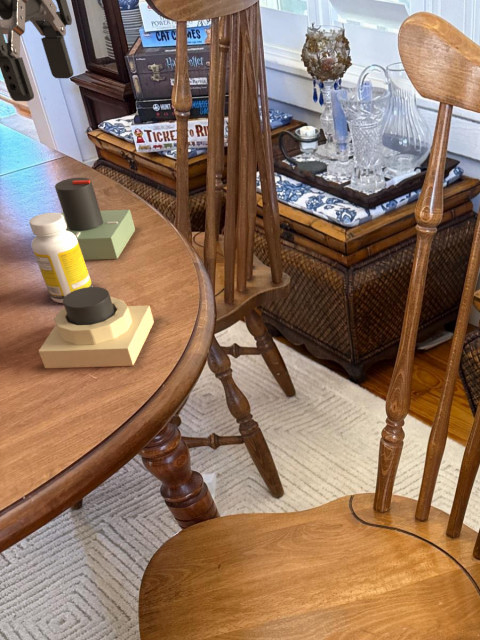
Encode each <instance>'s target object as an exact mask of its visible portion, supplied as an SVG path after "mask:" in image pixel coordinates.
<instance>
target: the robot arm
mask: <svg viewBox="0 0 480 640" xmlns="http://www.w3.org/2000/svg"><path fill="white" fill-rule="evenodd" d="M55 2H56V4H57V5H56V4H55V3H54V1H53V0H0V18H1V19H0V72H1V74H2V78H3V80H4V84H5V86H6V89H7V92H8V94H9V96H10V98H11V99H12V101H15V102H30V101H31V100H34V98H35V94H34V91H33V88H32V83H31V81H30V78H29V75H28V71H27V69H26V65H25V62H24V59H23V57H22V56H21V36H22V35H23V34H24V33H25V31H26V23H28V22H31V23H32V25H33V27H35V29H36V30H37V31H38V34H40V35H41V36H42V37H41V38H40V40H41V44H42V45H43V50H44V53H45V56H46V60H47V63H48V67H49V70H50V73H51V75H52V77H53V78H54V79H70V78H72V77H73V76H74V70H73V66H72V62H71V59H70V56H69V55H70V54H69V51H68V48H67V44H66V41H65V36H66V34H67V30H66V29H67V28H66V26H71V25H72V23H73V19H72V14H71V12H70V11H71V10H70V8H69V5H68V1H67V0H55ZM5 35H7V42H6V38H5ZM20 56H21V57H20Z"/></svg>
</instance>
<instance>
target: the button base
mask: <svg viewBox="0 0 480 640" xmlns="http://www.w3.org/2000/svg"><path fill="white" fill-rule="evenodd" d="M110 298H111V301H112V304H113V308H114V311H115V314H114V316H112V317H110V318H109V319H107V320H105V321H103V322H100V323H96V324H92V325H75V324H72V323H71V322H70V321H69V318H68V315H67V312H66V309H65V307H64V306H63V307H62V308H60V309H59V311H58V312H57V314H56V315H55V316H54V318H53V320H54V323H55V326H54V327H53V329H52V330H51V331H50V333H49V335H48V336H47V338H46V339H45V341H44V342H43V343H42V345H41V347H40V348H39V349H38V354H39V356H40V359H41V362H42V364H43V367H44V369H68V368H69V369H70V368H102V367H105V368H106V367H133V366H134V365H135V363H136V361H137V359H138V357H139V355H140V353H141V351H142V348H143V346H144V345H145V342H146V340H147V338H148V336H149V333H150V331H151V330H152V327H153V325H154V323H155V321H154V316H153V313H152V309H151V307H150V305H127V303H126V302H125V301H124V300H123V299H119V298H117V297H113V296H110Z"/></svg>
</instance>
